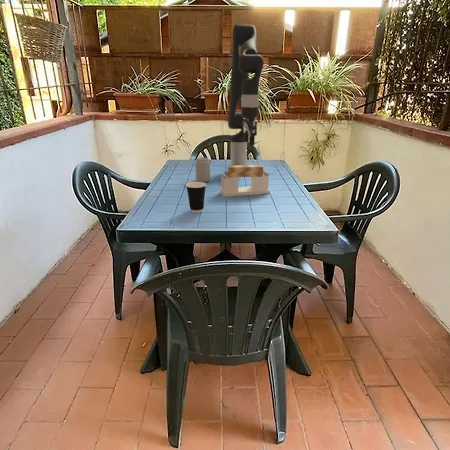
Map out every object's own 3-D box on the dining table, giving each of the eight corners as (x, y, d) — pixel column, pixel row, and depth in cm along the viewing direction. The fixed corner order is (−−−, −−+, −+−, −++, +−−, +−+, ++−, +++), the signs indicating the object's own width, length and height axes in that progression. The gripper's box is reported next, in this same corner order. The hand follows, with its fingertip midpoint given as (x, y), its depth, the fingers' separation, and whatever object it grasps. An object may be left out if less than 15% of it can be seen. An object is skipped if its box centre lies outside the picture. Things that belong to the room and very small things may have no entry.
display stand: (224, 196, 158) (223, 176, 154) (220, 191, 165) (219, 172, 161) (269, 193, 163) (270, 173, 159) (263, 188, 170) (264, 169, 166)
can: (193, 181, 182) (192, 158, 178) (200, 178, 188) (200, 156, 184) (205, 183, 179) (205, 160, 175) (212, 180, 185) (212, 157, 181)
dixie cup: (187, 207, 144) (185, 181, 140) (206, 207, 145) (205, 181, 141) (187, 214, 137) (185, 187, 133) (207, 213, 138) (206, 186, 133)
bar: (228, 177, 159) (228, 167, 157) (227, 175, 162) (227, 165, 161) (263, 176, 159) (263, 166, 158) (261, 174, 163) (262, 165, 161)
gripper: (237, 104, 157) (236, 141, 163) (246, 107, 144) (245, 146, 150) (253, 104, 158) (252, 140, 165) (263, 106, 145) (261, 145, 152)
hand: (248, 143), depth 157 cm, fingers open, 8 cm apart
